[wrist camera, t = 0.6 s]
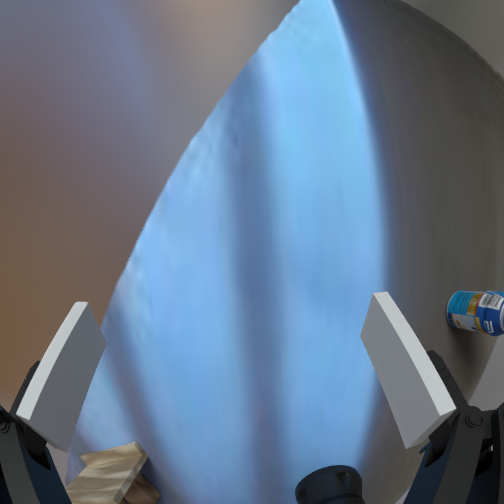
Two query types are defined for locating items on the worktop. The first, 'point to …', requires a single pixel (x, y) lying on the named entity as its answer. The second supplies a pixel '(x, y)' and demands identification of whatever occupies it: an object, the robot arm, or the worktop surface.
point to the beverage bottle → (477, 312)
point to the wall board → (113, 478)
